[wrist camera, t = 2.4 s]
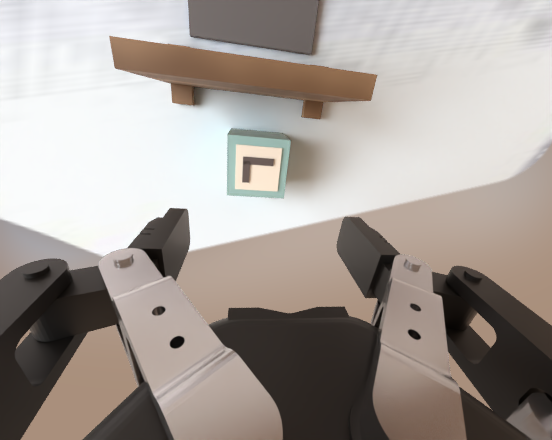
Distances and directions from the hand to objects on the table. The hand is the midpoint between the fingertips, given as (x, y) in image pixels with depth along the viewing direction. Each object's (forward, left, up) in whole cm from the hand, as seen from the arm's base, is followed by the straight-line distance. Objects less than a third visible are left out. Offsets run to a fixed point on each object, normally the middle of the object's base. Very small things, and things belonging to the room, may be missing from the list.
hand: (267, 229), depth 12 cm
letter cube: (0, 0, -18) cm, 19 cm away
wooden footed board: (-8, -1, -18) cm, 20 cm away
